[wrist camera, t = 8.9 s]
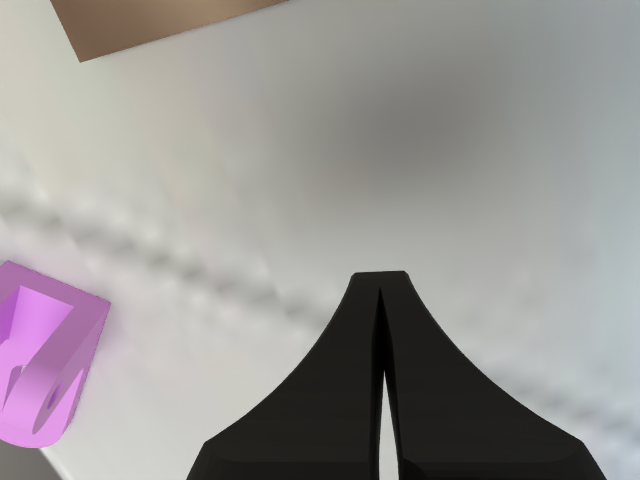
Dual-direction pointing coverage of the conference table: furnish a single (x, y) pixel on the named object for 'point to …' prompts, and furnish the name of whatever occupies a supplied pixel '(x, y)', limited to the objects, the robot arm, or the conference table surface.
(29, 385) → the bracket
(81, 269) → the conference table surface
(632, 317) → the conference table surface
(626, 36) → the conference table surface
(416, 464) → the robot arm
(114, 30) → the stand
